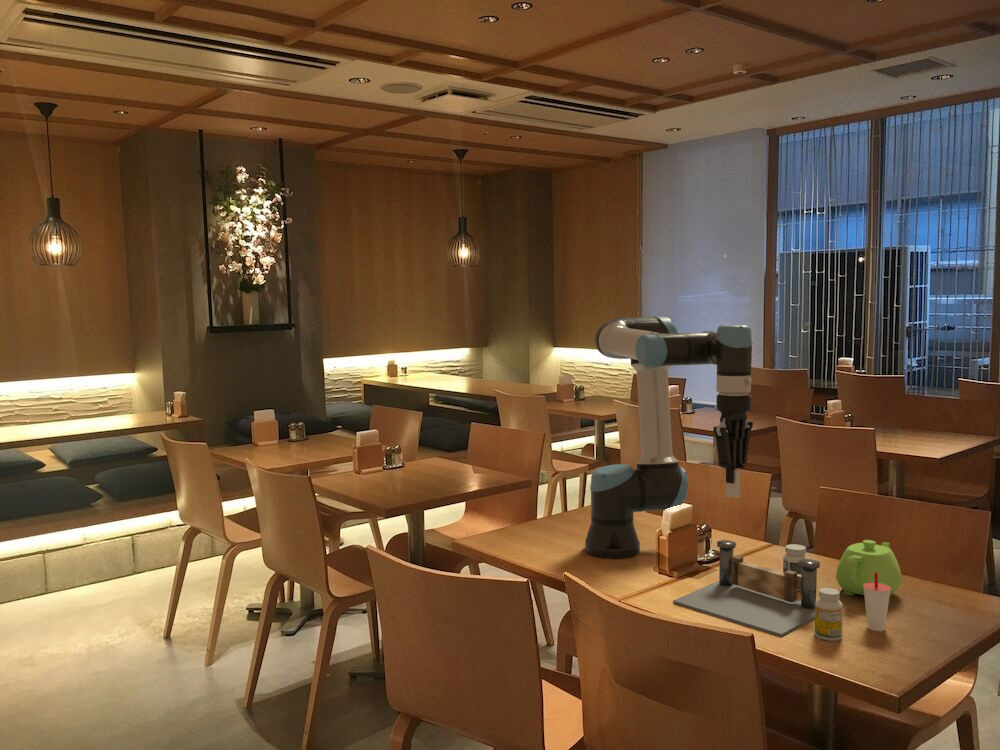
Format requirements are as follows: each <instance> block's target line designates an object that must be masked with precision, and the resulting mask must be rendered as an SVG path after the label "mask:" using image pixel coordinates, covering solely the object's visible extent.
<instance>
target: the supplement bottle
mask: <svg viewBox="0 0 1000 750" xmlns="http://www.w3.org/2000/svg"><path fill="white" fill-rule="evenodd" d="M840 594H841V593H840V591H839V590H838V589H835V588H831V587H821V588H819V589H818V596H819V598H816V602H815V618H814V635H815V636H816V637H817V638H818V639H821V640H822V641H827V642H837V641H840V640H842V637H843V616H844V606H843V603H842V602H841V600H840V599H841V598H840V597H841V595H840Z"/></svg>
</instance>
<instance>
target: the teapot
mask: <svg viewBox="0 0 1000 750" xmlns="http://www.w3.org/2000/svg"><path fill="white" fill-rule="evenodd" d="M890 545H891V542H887V541H885V542H882V543H881V545H880V544H877V541H875V540H872V539H871V540H870V539H864V540H862V542H857V543H853V544H851V545H848V547H847V548H846V549H845V550H844V552H843V554H842V556H841V558H840V560H839V562H838V565H837V569H836V575H835V579H836V581H837V583H838V585H839V587H840V588H841V589H842V590H844V591H843V593H844V594H843V593H842V594H843V595H845V594H846V595H845V596H850V595H852V596H855V595H856V594H858V595H862V596H865V595H864V586H863V584H865V583H875V573H878V583H881V584H885V585H888V586H890V587H891V590H890V597H892V596H893V595H894V593H895V592H897V590H898V589H899V587H900V586H901V584H902V573H901V569H900V565H899V563H898V560H897V557H896V556H895V553H894V552H893V550H892V548H891V546H890Z"/></svg>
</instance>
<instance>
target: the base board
mask: <svg viewBox="0 0 1000 750" xmlns="http://www.w3.org/2000/svg"><path fill="white" fill-rule="evenodd" d="M672 604H674V605H675V604H676V605H678V606H680V607H684V608H688V609H690V610H693V611H694V610H695V611H697V612H700V613H703V614H707V615H711V616H713V617H717V618H719V619H723V620H726V621H730V622H732V623H735V624H739V625H741V626H745V627H749V628H752V629H755V630H759V631H761V632H764V633H768V634H771V635H774V636H778V637H780V638H781V637H784V636H786V635H788V634H789V633H792V632H793V631H795V630H796V629H797V630H798V628H800V627H802V626H803V625H805V624H807V623H809V622H811V621H813V620H815V609H805V608H802V607H801V600H799V599H797V601H795V602H788V601H785V600H782V599H779V598H775V597H772V596H769V595H766V594H763V593H759V592H756V591H753V590H750V589H747V588H743V587H740V586H737V585H734V584H733V585H732V586H722V585H720V584H719V580H718V581H715V582H713V583H711V584H708V585H706V586H704V587H701V588H699V589H697V590H694V591H692V592H690V593H688V594H685V595H682V596H680V597H678V598H676V599H674V600H672Z"/></svg>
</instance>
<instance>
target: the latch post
mask: <svg viewBox="0 0 1000 750" xmlns="http://www.w3.org/2000/svg"><path fill="white" fill-rule="evenodd" d="M820 563H821V562H820V561H819V560H816V559H811V558H808V559H801V560H799V566H800V567H801V575H799V574H797V589H800V590H801V591H800V601H801V607H802V608H805V609H815V602H816V600H817V583H818V581H817V580H818V579H817V576H818V569H819V568H821V564H820Z"/></svg>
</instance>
